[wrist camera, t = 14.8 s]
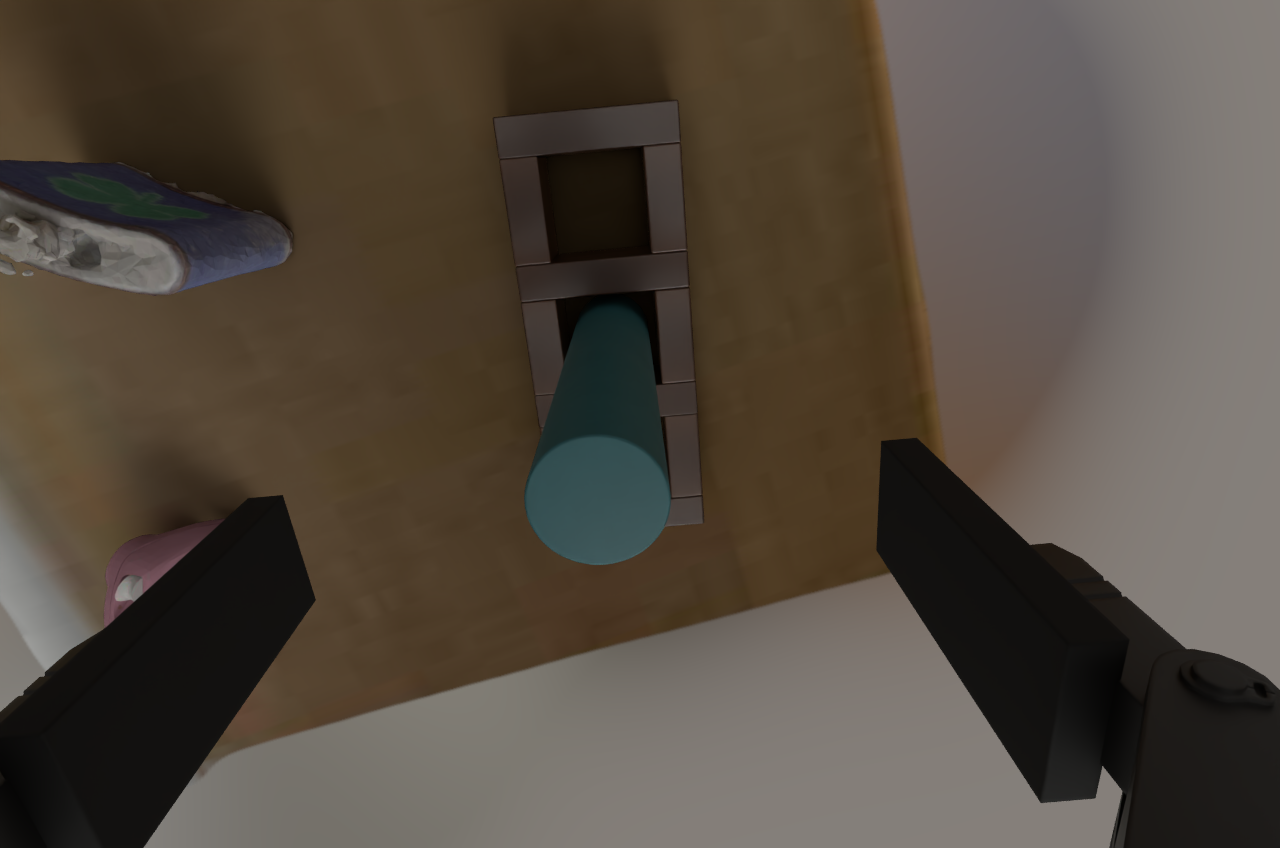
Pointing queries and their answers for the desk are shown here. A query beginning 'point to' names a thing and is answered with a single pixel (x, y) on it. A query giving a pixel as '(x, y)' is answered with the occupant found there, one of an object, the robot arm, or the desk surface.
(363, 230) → the desk surface
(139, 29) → the desk surface
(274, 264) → the flask
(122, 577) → the video game controller
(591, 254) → the pen block
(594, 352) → the dowel
